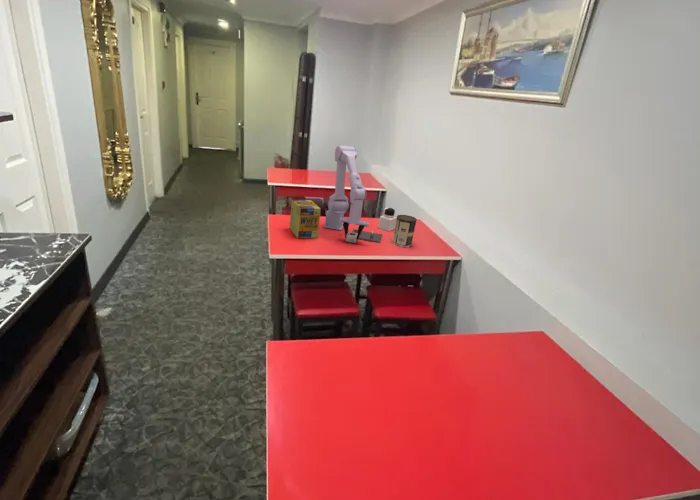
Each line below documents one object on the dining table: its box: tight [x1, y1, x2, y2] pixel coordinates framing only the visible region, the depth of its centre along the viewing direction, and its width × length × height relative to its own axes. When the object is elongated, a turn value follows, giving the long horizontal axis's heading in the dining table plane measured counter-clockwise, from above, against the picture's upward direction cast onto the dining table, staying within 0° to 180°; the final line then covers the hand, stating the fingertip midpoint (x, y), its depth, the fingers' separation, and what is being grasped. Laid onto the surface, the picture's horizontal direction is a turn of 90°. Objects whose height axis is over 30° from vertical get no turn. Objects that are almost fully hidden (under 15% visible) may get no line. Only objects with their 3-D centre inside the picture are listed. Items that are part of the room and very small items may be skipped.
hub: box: [345, 231, 358, 244], centre depth 192 cm, size 5×5×4 cm
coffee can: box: [391, 214, 418, 248], centre depth 197 cm, size 10×10×14 cm
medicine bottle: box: [378, 207, 397, 232], centre depth 217 cm, size 7×7×12 cm
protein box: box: [289, 199, 321, 239], centre depth 192 cm, size 10×15×16 cm
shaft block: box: [351, 228, 383, 244], centre depth 201 cm, size 16×12×4 cm
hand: (351, 238), depth 192 cm, fingers closed on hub, 5 cm apart
